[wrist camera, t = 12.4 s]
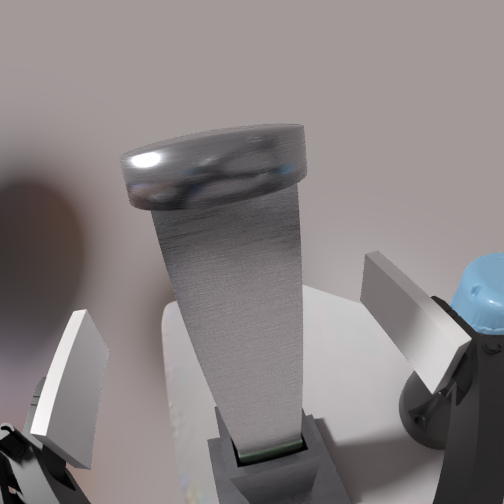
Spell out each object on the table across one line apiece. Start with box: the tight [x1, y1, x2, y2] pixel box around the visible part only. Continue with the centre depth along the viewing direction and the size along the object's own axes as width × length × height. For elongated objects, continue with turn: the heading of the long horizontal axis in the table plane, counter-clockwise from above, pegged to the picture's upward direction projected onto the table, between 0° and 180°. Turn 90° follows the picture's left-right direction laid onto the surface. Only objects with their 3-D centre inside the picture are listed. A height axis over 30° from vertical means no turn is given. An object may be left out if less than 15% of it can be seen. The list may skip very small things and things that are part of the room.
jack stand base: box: [207, 407, 351, 504], centre depth 22 cm, size 14×14×16 cm
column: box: [119, 124, 307, 466], centre depth 16 cm, size 6×6×28 cm
